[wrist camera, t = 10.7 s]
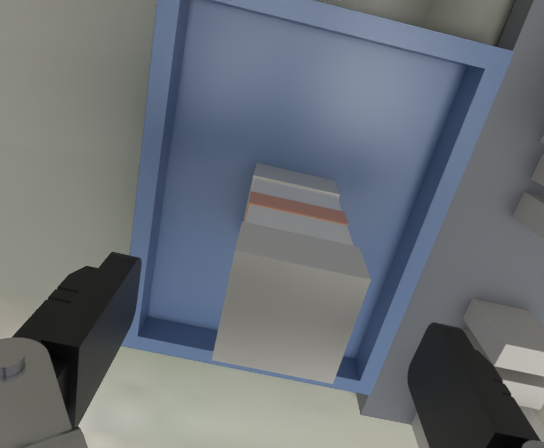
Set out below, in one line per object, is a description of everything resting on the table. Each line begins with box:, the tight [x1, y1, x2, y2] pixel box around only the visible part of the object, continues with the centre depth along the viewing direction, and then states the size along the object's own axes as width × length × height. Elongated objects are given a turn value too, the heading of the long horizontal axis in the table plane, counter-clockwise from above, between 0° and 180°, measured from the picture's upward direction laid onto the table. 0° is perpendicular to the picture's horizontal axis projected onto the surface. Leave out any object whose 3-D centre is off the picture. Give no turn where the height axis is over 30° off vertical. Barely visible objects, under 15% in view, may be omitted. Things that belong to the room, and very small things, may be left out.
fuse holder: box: [357, 0, 544, 448], centre depth 19 cm, size 22×9×5 cm, turn 167°
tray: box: [121, 0, 515, 395], centre depth 20 cm, size 17×13×2 cm
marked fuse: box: [212, 163, 371, 384], centre depth 16 cm, size 4×4×9 cm
